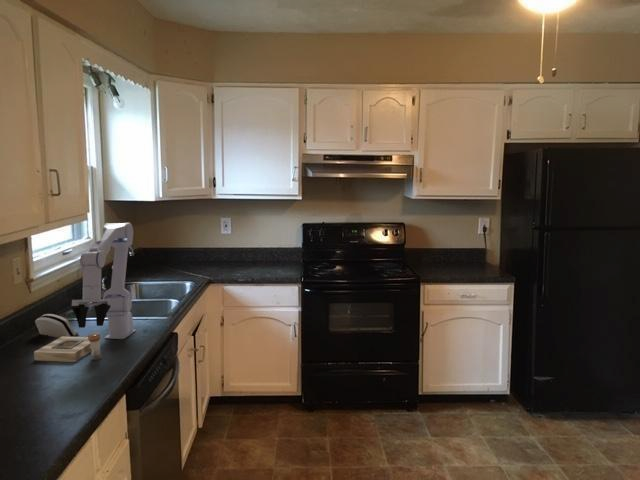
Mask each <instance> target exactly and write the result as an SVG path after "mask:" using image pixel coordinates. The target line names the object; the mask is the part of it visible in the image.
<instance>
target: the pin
mask: <svg viewBox="0 0 640 480" xmlns="http://www.w3.org/2000/svg"><path fill="white" fill-rule="evenodd" d="M87 337H88V340H89V341H90V348H91V352H90V357H91V360H92V361H99V360H101V359H102V354H101V334H100V333H92V334H89V335H88V336H87ZM99 339H100V341H99Z"/></svg>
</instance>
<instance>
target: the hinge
mask: <svg viewBox="0 0 640 480" xmlns="http://www.w3.org/2000/svg"><path fill="white" fill-rule="evenodd" d="M34 323H35V326H36V328H37V330H38V332H39V335H41V336H42V335H44V336H47V335H48V337H52V338H53V337H54V338H57V339H59V338H60V337H75V336H77V337H80V333H79V332H78V331H76V330H74V328H73V326H72V325H71V323H70V321H69V320H68V319H67V318H65V317H63V316H61V315H57V314H53V313H46V314H43V315H41V316H39V317H38V318H36V319H35V320H34Z"/></svg>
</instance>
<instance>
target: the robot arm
mask: <svg viewBox="0 0 640 480" xmlns="http://www.w3.org/2000/svg"><path fill="white" fill-rule="evenodd" d="M102 233H103V234H102V236H101V237H100V239H96V240H95V241H94V242H93V244H92V245H91V246H90V248H89V250H88V251H84V252H83V253H81V255H80V259H79V265H80V268H81V273H82V299H72V300H71V310H72V312H73V314H74V315H75V318H76V321H77V325H78V326H77V327H78V328H79V329H80V328H84V329H85V328H86V324H87V323H86V322H87V316H88V315H87V314H88V311H89V308H90V307H89V306H93V307H94V310H95V317H96V318H95V321H96V322H95V324H96V327H103V326H104V322H105V319H106V316H107V324H108V325H107V327H108V334H107V335H106V336H104V339H107V340H108V339H112V340H114V339H115V340H117V339H118V340H125V339H126V338H127V337H129V336H131V335H132V334H133V333H134V332H137V330H136V329H134V321H133V314H132V312H131V309H132V305H133V303H132V294H131V292H130V291H129V290H128V289H126V288H125V287H126V286H125V285H126V273H127V265H128V264H127V263H128V256H129V255H128V251H129V247H130V246H132V245H133V240H134V228H133V225H132V224H131V222H123V223H122V222H121V223H120V222H118V223H116V222H113V223H112V222H111V223H109V222H106V223H105V224H104V225H103V228H102ZM111 247H113V248H114V253H113V263H112V271H111V282H110V288H108V289H107V290H105V292H104V293H103V296H102V268H104V267H105V264H106V259H107V258H106V257H107V255H108V254H109V252H110V251H111Z"/></svg>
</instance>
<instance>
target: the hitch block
mask: <svg viewBox="0 0 640 480" xmlns="http://www.w3.org/2000/svg"><path fill="white" fill-rule="evenodd" d="M99 341H100V342H101V338H100V339H99ZM89 353H90V354H91V348H90V341H89V340H88V336H71V337H60V338H57V339H55V340H53V341H51V342H50V343H47V344H46V345H44V346H43V347H40V348H39V349H37V350H34V352H33V355H34V356H33V357H34V361H40V362H41V361H45V362H46V361H47V362H71V363H74V362H77V361H79V360H81V359H82V358H83V357H86V356H87V355H88V354H89Z"/></svg>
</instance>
